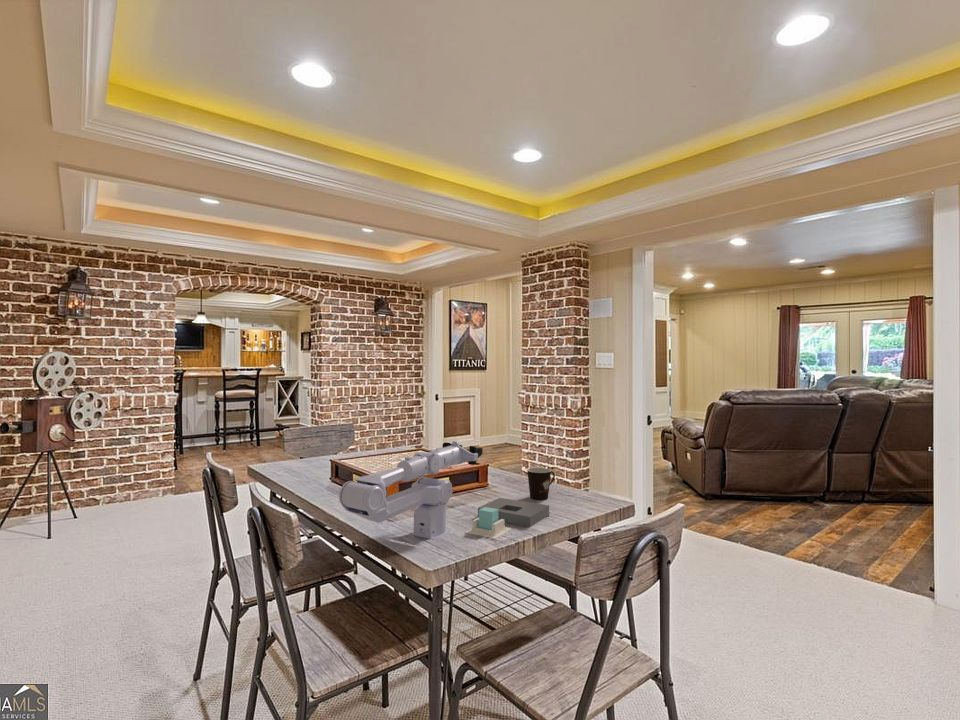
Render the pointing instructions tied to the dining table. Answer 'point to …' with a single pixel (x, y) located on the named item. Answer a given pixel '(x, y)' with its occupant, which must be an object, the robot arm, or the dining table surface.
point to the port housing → (518, 511)
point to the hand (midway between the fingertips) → (471, 449)
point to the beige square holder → (496, 531)
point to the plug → (487, 517)
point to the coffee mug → (539, 482)
